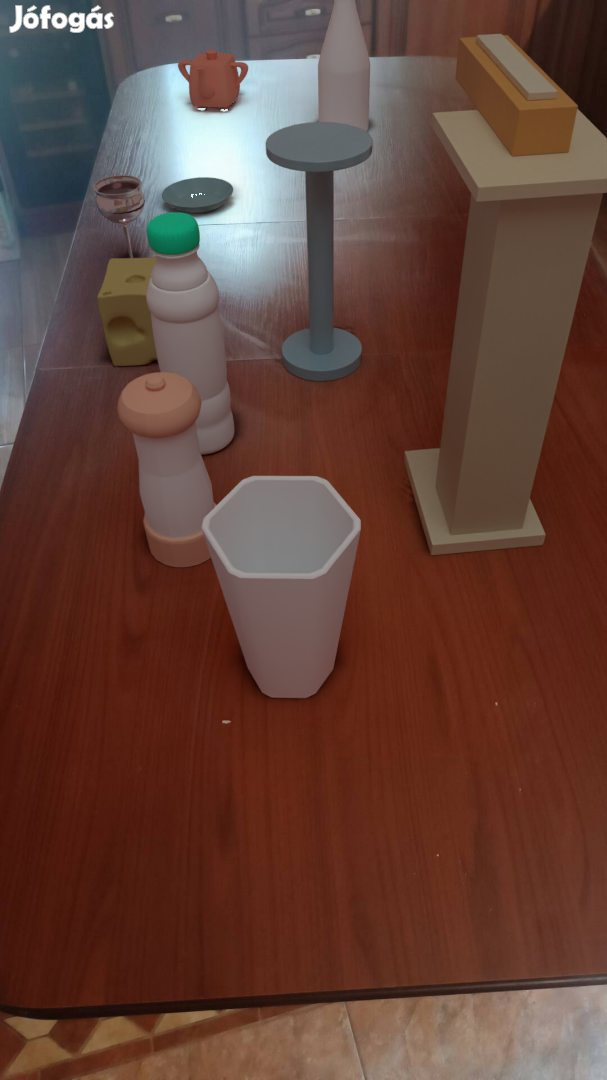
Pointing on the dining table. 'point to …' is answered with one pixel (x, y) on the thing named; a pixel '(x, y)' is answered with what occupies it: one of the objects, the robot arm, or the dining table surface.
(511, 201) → the beige pedestal column
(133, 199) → the wineglass
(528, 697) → the dining table surface
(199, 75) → the brown sugar bowl
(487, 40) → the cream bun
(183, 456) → the salt shaker
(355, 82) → the wine bottle
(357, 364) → the cake stand
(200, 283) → the water bottle
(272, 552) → the cup
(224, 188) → the saucer
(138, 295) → the cheese
